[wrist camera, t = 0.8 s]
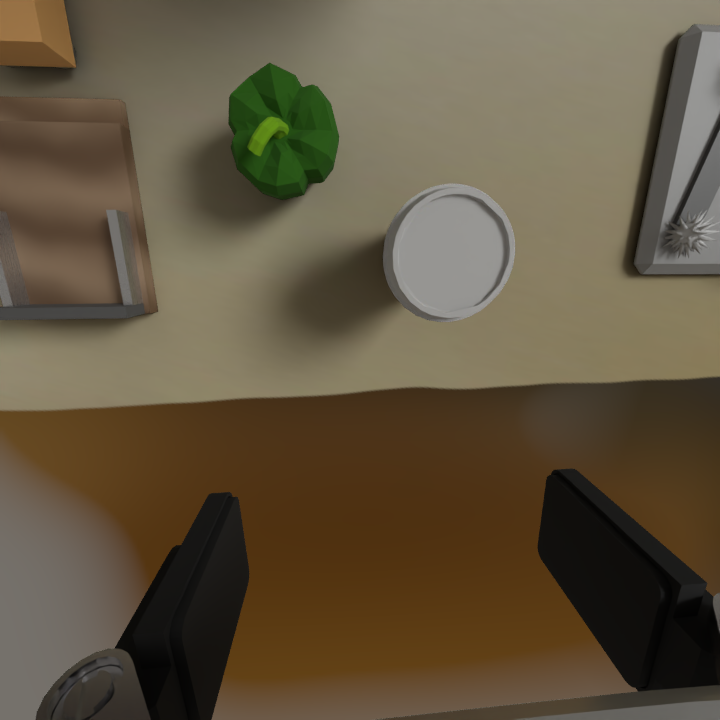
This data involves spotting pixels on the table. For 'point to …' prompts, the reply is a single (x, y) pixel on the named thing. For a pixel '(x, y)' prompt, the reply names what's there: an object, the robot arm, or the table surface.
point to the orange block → (35, 34)
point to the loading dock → (70, 212)
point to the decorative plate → (686, 166)
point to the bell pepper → (282, 133)
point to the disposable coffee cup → (448, 252)
